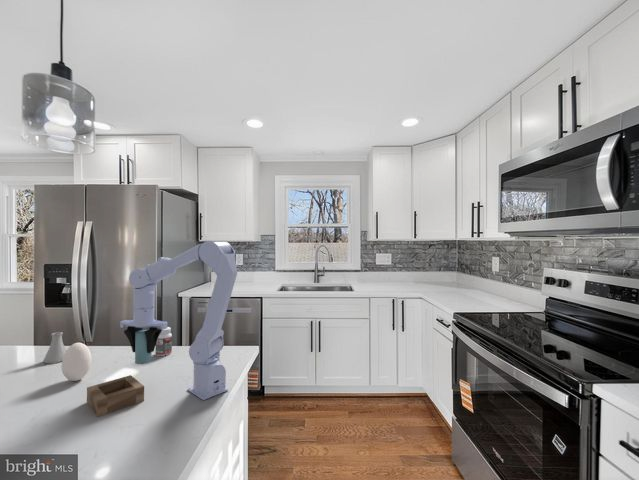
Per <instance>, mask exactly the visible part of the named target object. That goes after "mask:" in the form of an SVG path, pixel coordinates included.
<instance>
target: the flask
mask: <svg viewBox="0 0 639 480" xmlns="http://www.w3.org/2000/svg"><path fill="white" fill-rule="evenodd" d="M63 334H64V332H62V331H56V332H53V333H51V334H50V336H51V342H50V346H49V347H48V350H47V352H46V354H45V356H44V358H43V361H42V363H44V364H56V363H60V362H61V363H62V359H63V357H64V354H65V352H66V351H67V350H66V347H65V344H64V342H63Z"/></svg>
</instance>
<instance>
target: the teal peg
mask: <svg viewBox="0 0 639 480" xmlns="http://www.w3.org/2000/svg"><path fill="white" fill-rule="evenodd" d="M146 330H147V329H142V330H141V331H137V332H136V333H135V352H134V363H135V364H136V365H143V364H147V363H151V361H152V352H151V353H147V340H146V335H145V333H144V331H146Z"/></svg>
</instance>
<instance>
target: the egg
mask: <svg viewBox="0 0 639 480" xmlns="http://www.w3.org/2000/svg"><path fill="white" fill-rule="evenodd" d="M91 366H92V354H91V351H90V349H89V347H88V346H87V345H86V344H84V343H83V342H75V343H73V344H71V345H70V346H69V347H68V348H67V350H66V352H65V354H64V357H63V359H62V361H61V372H62V374H63V376H64V378H65V379H67V380H68V381H71V382H78V381H79V380H82V379H84V377H85V376H86V375H87V374H88V373H89V371H90V369H91Z"/></svg>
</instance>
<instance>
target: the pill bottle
mask: <svg viewBox="0 0 639 480" xmlns="http://www.w3.org/2000/svg"><path fill="white" fill-rule="evenodd" d="M171 329H172V328H171V327H170V326H167V328H166V329H164V330H162V331H161V333H160V335H159V337H158V339H157V342H156V345H155V350H154V352H155V356H156V357H166V356H168V355H169V356H170V355H171V354H172V352H173V351H172V350H173V335H172V334H173V333H171V331H172V330H171ZM165 355H166V356H165Z"/></svg>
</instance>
